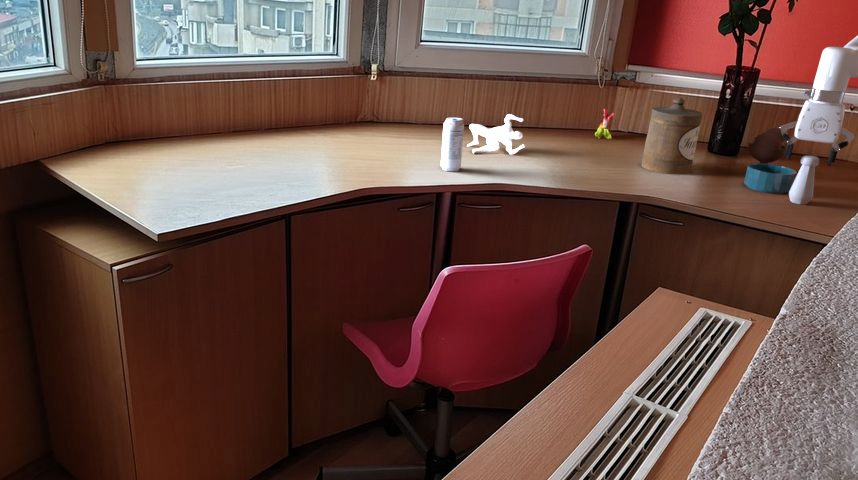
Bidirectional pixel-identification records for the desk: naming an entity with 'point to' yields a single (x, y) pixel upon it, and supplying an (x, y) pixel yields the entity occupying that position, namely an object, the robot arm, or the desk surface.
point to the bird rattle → (604, 126)
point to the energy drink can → (452, 144)
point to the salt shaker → (804, 181)
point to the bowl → (769, 178)
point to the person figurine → (497, 136)
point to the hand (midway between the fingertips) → (808, 161)
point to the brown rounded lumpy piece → (768, 146)
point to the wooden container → (671, 139)
